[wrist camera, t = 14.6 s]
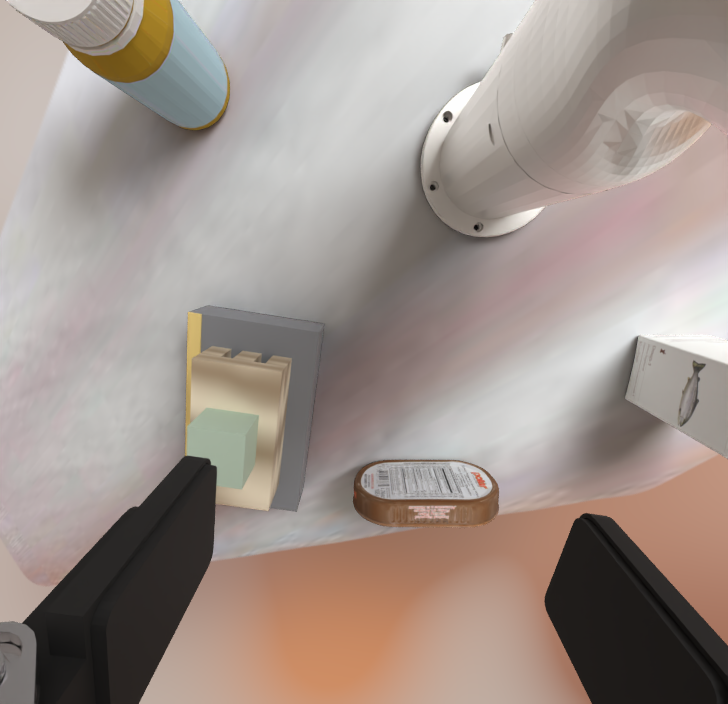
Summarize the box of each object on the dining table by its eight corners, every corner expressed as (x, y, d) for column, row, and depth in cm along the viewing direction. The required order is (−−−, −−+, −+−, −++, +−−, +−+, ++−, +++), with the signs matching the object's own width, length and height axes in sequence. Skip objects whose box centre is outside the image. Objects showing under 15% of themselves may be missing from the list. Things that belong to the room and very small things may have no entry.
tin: (354, 478, 42) (351, 533, 33) (354, 454, 41) (350, 505, 33) (483, 478, 41) (511, 533, 33) (485, 454, 40) (514, 505, 32)
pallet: (212, 346, 33) (191, 358, 29) (292, 358, 33) (282, 372, 29) (207, 474, 37) (188, 500, 33) (278, 484, 37) (268, 511, 33)
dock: (207, 305, 36) (187, 312, 32) (324, 323, 36) (319, 332, 32) (201, 473, 41) (184, 497, 37) (303, 487, 42) (296, 512, 38)
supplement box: (636, 333, 36) (770, 374, 24) (708, 333, 36) (880, 375, 24) (621, 399, 38) (737, 468, 26) (690, 400, 38) (839, 469, 26)
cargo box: (206, 407, 30) (187, 426, 27) (258, 415, 31) (245, 434, 27) (205, 458, 32) (186, 481, 28) (254, 465, 32) (241, 489, 29)
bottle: (232, 137, 32) (119, 42, 17) (154, 127, 32) (-25, 23, 17) (233, 45, 30) (108, -147, 16) (150, 33, 30) (-54, -171, 15)
